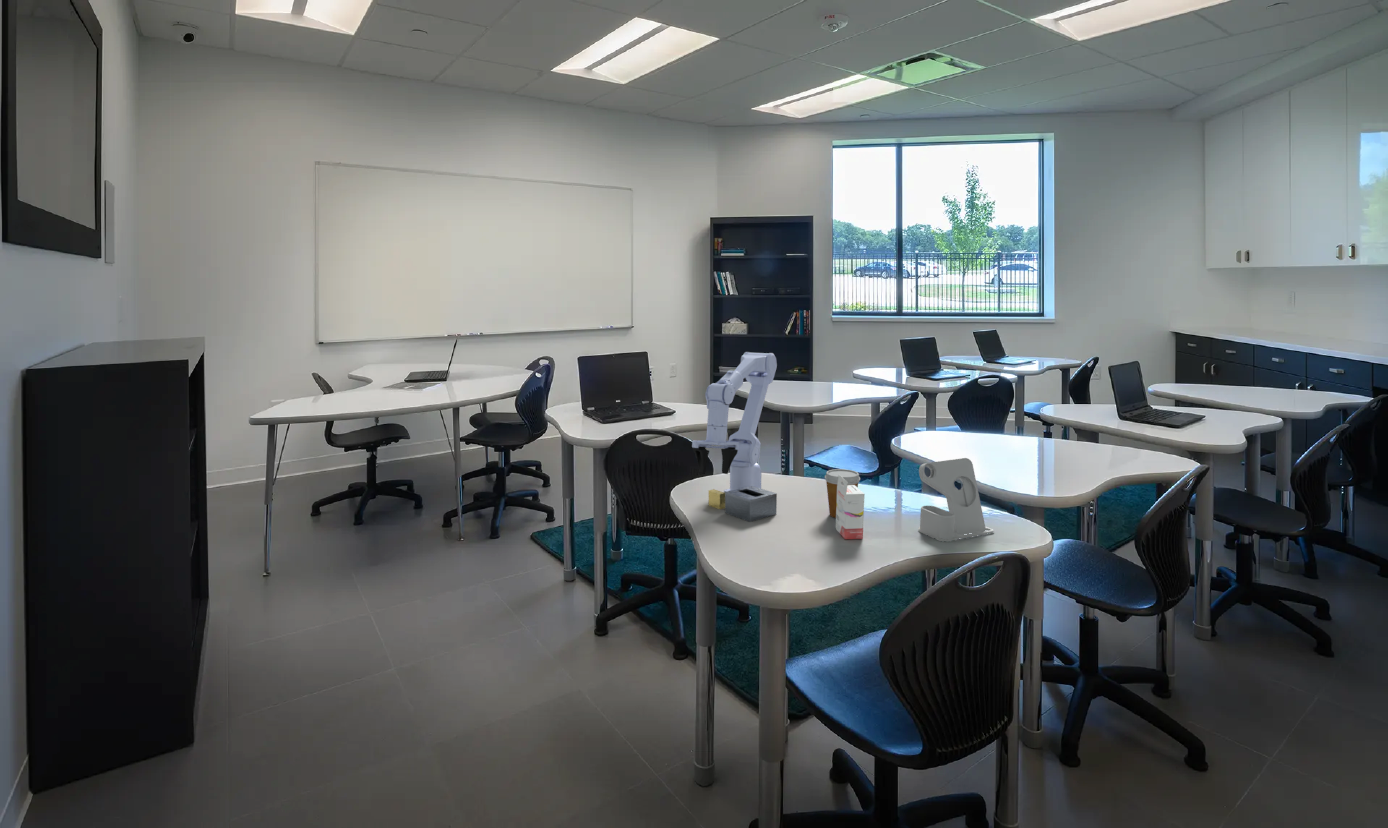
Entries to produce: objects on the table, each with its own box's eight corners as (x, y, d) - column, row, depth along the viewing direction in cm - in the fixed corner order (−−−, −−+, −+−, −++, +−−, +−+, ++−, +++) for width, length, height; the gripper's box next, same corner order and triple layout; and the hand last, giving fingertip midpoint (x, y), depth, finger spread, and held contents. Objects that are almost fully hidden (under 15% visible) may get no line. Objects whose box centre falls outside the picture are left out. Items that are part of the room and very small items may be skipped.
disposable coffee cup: (860, 512, 198) (862, 470, 196) (856, 522, 190) (858, 478, 187) (826, 508, 201) (827, 467, 199) (821, 519, 193) (822, 476, 191)
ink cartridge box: (864, 539, 177) (866, 482, 174) (844, 540, 177) (846, 482, 174) (853, 528, 185) (855, 473, 183) (834, 528, 185) (836, 473, 182)
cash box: (751, 506, 205) (751, 485, 204) (776, 514, 197) (776, 493, 196) (725, 512, 198) (725, 492, 197) (749, 521, 191) (749, 500, 190)
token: (713, 504, 207) (713, 489, 206) (725, 508, 203) (725, 492, 202) (708, 505, 206) (708, 490, 205) (719, 509, 202) (719, 494, 201)
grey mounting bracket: (942, 543, 174) (946, 471, 171) (914, 530, 183) (917, 462, 180) (995, 533, 181) (1000, 464, 178) (966, 521, 190) (970, 455, 187)
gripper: (702, 426, 195) (699, 475, 195) (746, 428, 202) (742, 475, 203) (689, 424, 201) (686, 472, 201) (732, 425, 208) (729, 471, 209)
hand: (713, 473), depth 202 cm, fingers open, 7 cm apart
